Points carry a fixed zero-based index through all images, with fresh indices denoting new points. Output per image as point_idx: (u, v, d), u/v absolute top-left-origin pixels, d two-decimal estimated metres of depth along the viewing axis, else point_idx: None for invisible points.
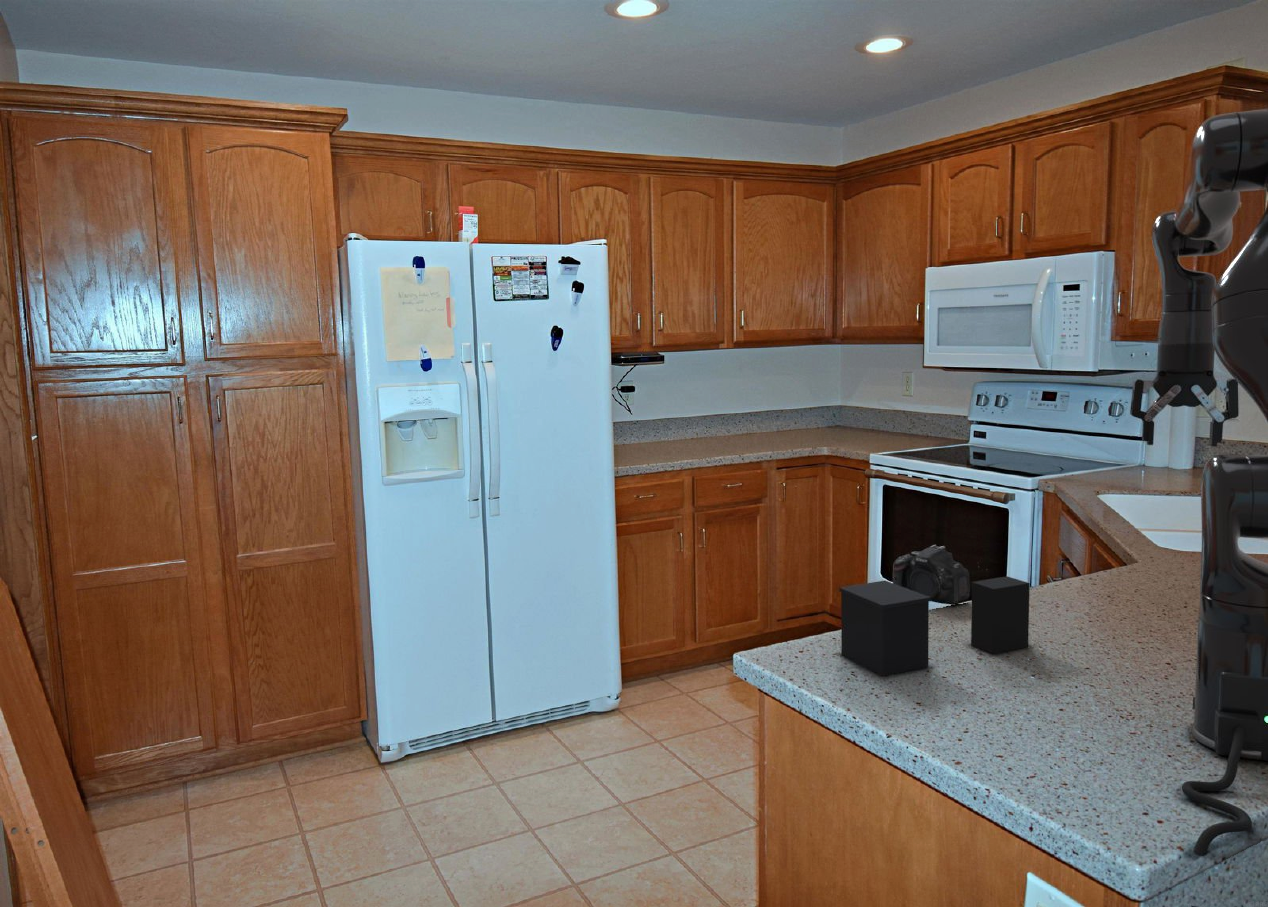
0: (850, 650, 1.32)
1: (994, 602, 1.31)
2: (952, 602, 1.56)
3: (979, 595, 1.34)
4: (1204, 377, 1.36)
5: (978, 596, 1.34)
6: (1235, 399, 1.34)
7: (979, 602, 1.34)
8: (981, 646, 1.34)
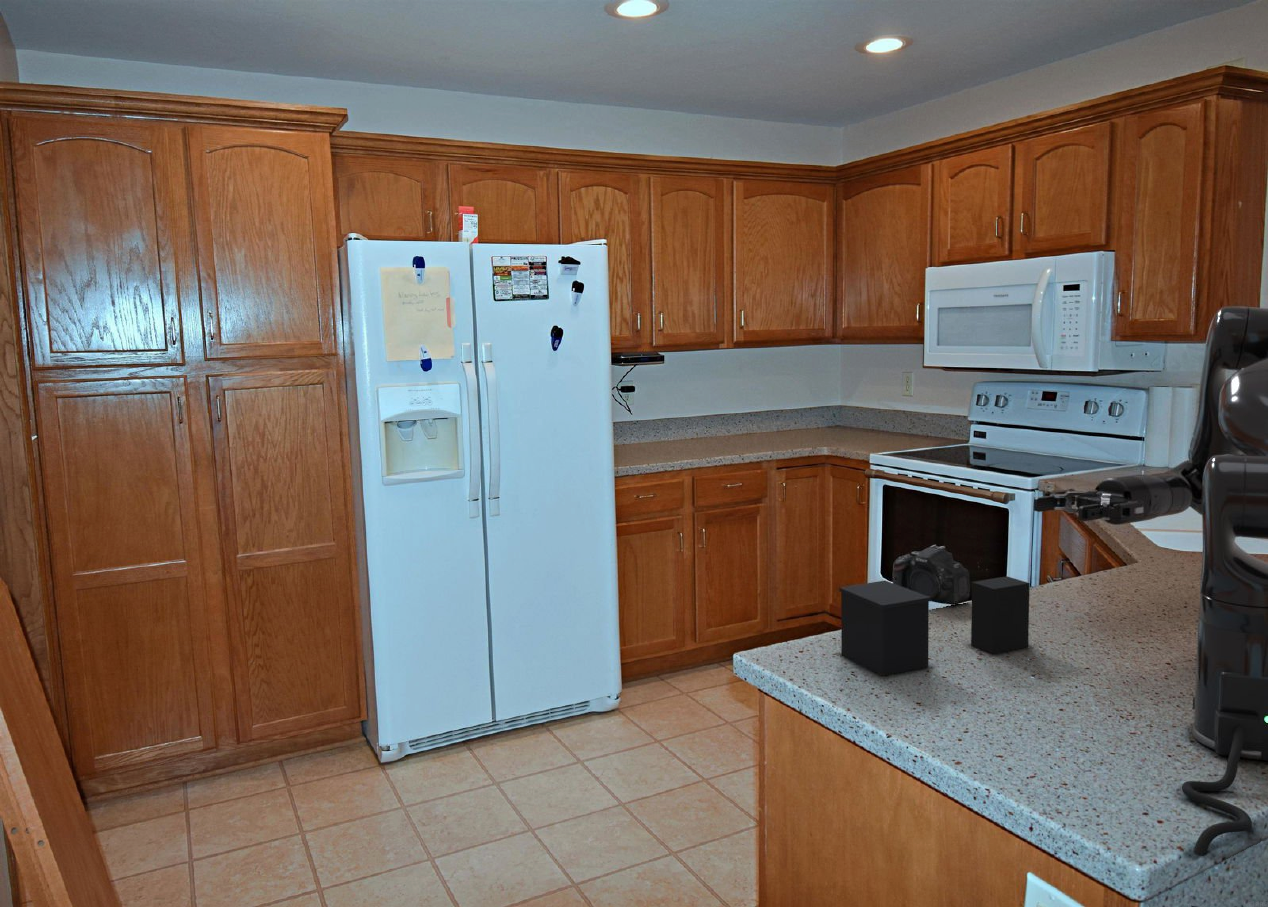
0: (850, 650, 1.32)
1: (994, 602, 1.31)
2: (952, 602, 1.56)
3: (979, 595, 1.34)
4: (1121, 497, 1.39)
5: (978, 596, 1.34)
6: (1129, 503, 1.33)
7: (979, 602, 1.34)
8: (981, 646, 1.34)
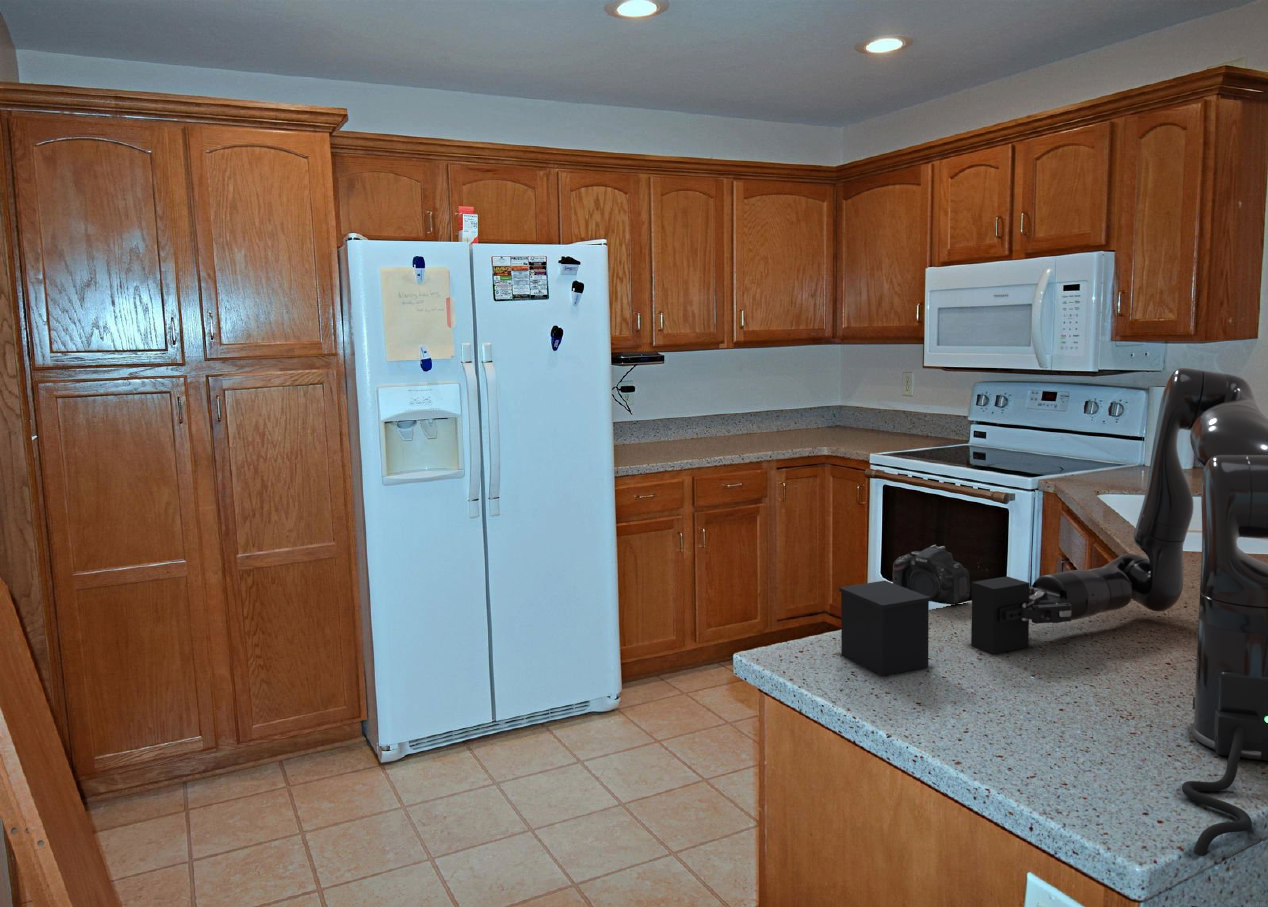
0: (850, 650, 1.32)
1: (994, 602, 1.31)
2: (952, 602, 1.56)
3: (979, 595, 1.34)
4: (1057, 597, 1.35)
5: (978, 596, 1.34)
6: (1051, 606, 1.31)
7: (979, 602, 1.34)
8: (981, 646, 1.34)
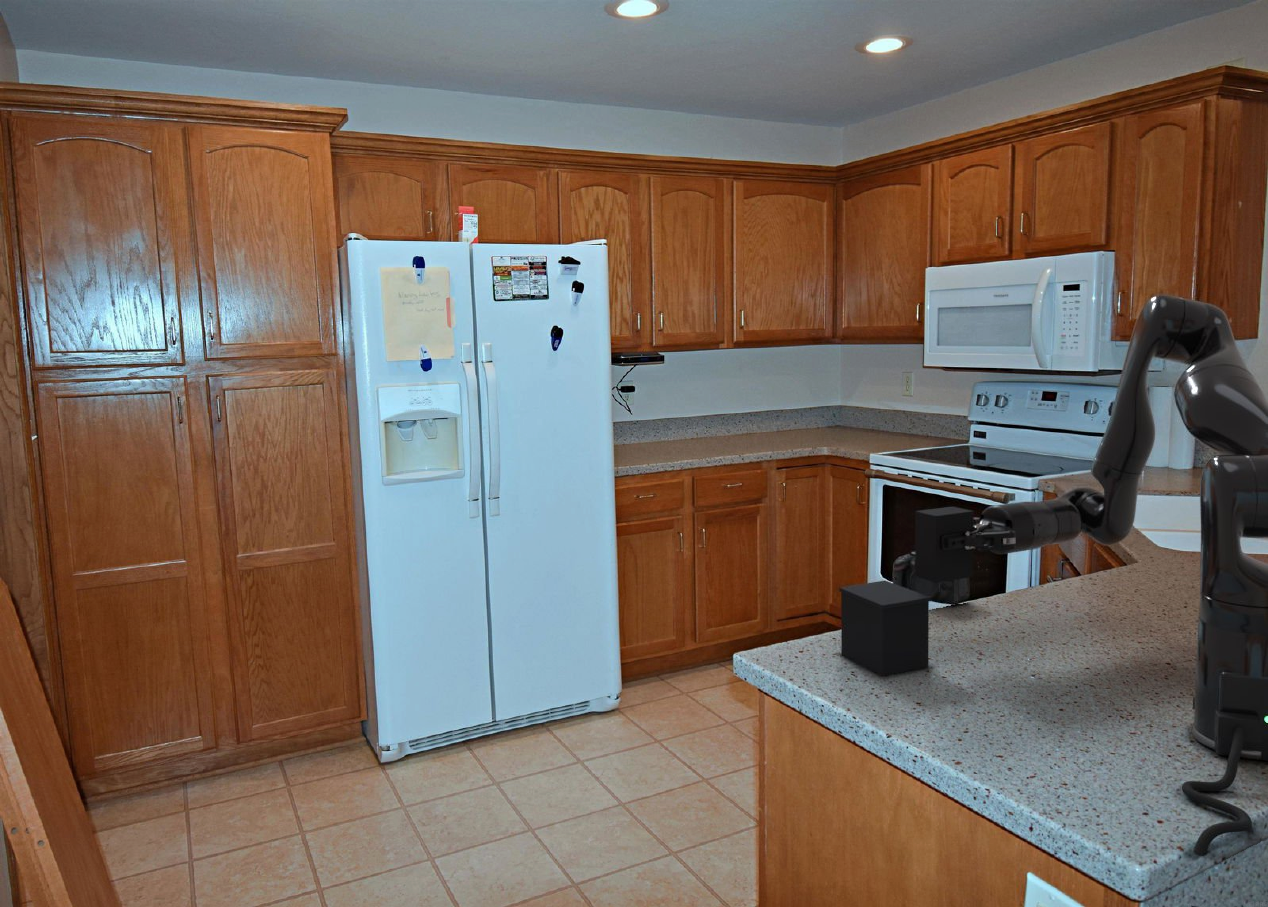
0: (850, 650, 1.32)
1: (936, 530, 1.29)
2: (952, 602, 1.56)
3: (922, 524, 1.31)
4: (1002, 526, 1.33)
5: (921, 525, 1.31)
6: (995, 533, 1.28)
7: (922, 531, 1.31)
8: (925, 576, 1.32)
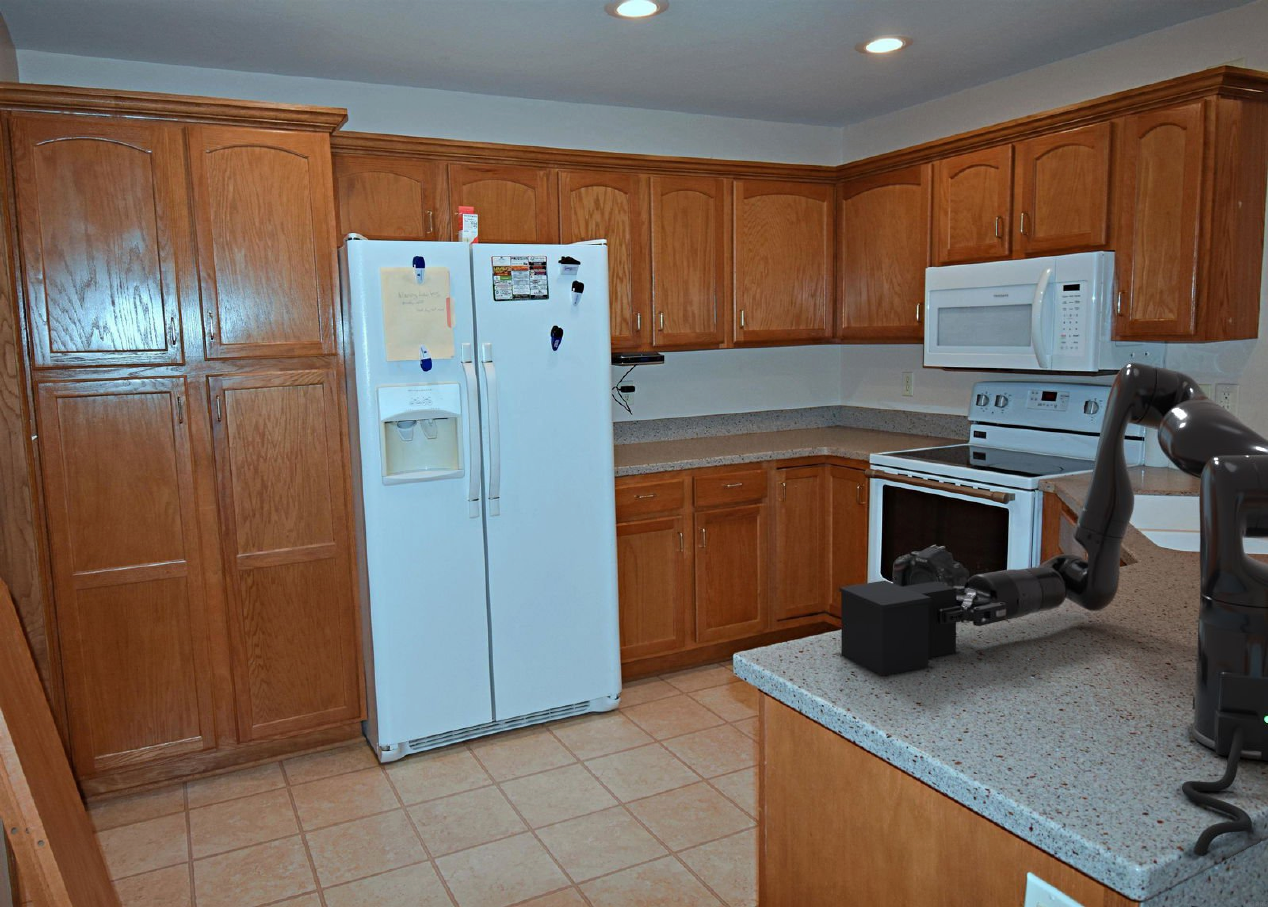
0: (850, 650, 1.32)
1: None
2: None
3: None
4: (987, 597, 1.34)
5: None
6: (990, 606, 1.29)
7: None
8: None
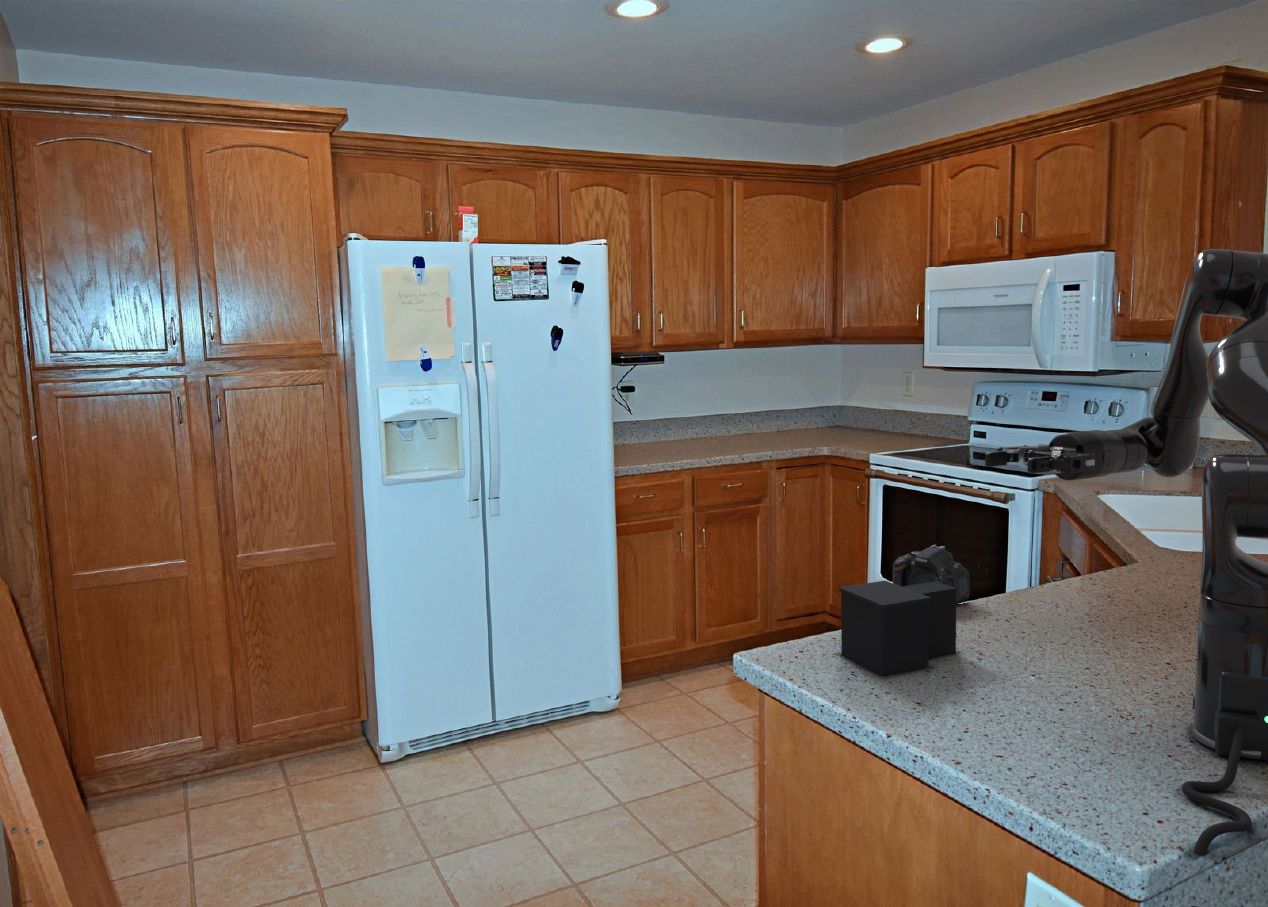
0: (850, 650, 1.32)
1: None
2: None
3: None
4: (1074, 451, 1.36)
5: None
6: (1080, 455, 1.31)
7: None
8: None
